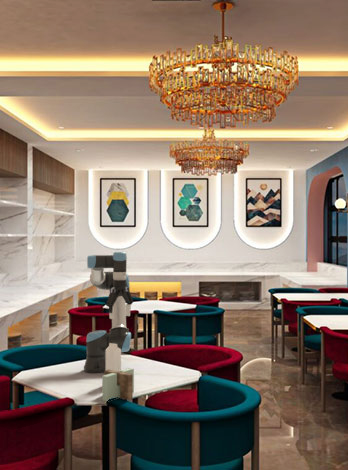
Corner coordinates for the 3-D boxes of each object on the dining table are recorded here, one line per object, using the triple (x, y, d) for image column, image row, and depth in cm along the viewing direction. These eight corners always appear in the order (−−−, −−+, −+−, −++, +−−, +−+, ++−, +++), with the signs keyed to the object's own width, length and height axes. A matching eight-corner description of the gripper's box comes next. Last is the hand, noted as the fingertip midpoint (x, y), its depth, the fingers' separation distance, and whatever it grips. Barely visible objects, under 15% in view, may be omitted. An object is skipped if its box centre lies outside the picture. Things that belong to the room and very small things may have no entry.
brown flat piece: (104, 394, 274) (104, 370, 274) (108, 393, 277) (108, 369, 277) (128, 399, 265) (128, 375, 265) (132, 398, 267) (132, 373, 268)
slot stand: (106, 401, 262) (106, 376, 262) (102, 400, 263) (102, 375, 264) (133, 392, 278) (133, 368, 278) (129, 391, 280) (129, 368, 280)
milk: (113, 382, 298) (113, 342, 299) (121, 384, 295) (121, 343, 295) (105, 384, 293) (105, 343, 294) (113, 386, 290) (113, 344, 290)
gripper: (109, 281, 293) (109, 320, 293) (139, 278, 313) (139, 315, 313) (99, 280, 297) (99, 319, 297) (129, 278, 318) (129, 314, 317)
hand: (119, 317), depth 305 cm, fingers open, 13 cm apart
